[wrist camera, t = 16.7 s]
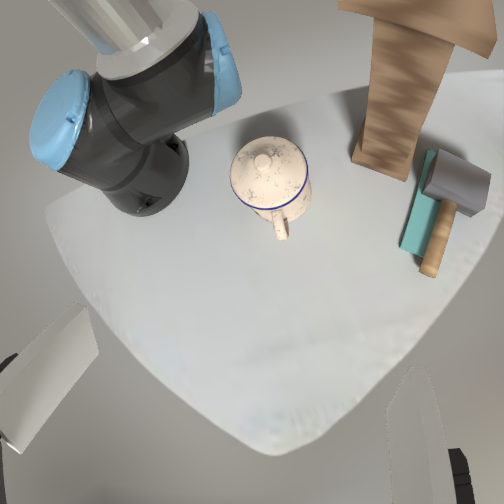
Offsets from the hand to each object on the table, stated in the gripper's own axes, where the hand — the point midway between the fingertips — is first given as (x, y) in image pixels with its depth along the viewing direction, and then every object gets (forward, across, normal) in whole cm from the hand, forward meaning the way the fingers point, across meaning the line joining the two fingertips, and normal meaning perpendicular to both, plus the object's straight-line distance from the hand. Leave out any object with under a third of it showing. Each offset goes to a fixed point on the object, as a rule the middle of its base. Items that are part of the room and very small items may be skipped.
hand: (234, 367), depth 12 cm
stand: (+38, +12, +6) cm, 40 cm away
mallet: (+31, +20, -1) cm, 37 cm away
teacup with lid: (+34, -2, -3) cm, 34 cm away
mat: (+33, +20, 0) cm, 38 cm away
